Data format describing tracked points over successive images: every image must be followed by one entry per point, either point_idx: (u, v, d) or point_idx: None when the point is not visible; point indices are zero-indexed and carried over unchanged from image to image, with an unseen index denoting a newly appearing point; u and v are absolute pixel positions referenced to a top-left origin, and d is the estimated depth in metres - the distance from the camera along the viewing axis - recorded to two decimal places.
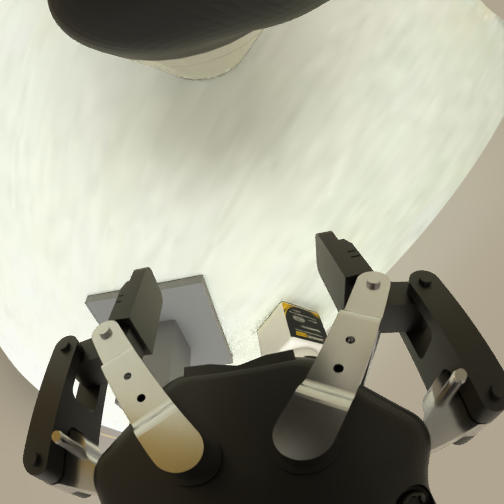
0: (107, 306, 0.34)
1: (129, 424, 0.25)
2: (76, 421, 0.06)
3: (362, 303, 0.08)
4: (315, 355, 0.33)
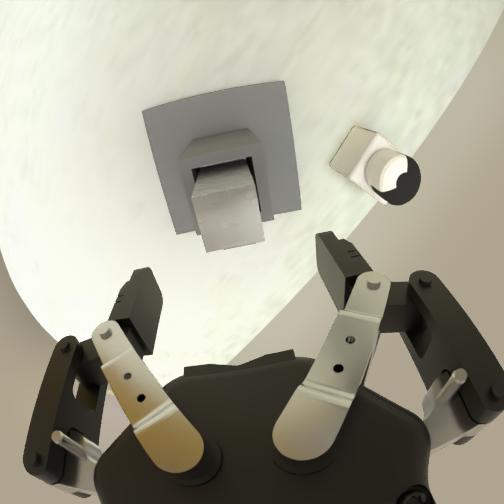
0: (170, 112, 0.30)
1: (196, 181, 0.20)
2: (76, 421, 0.06)
3: (362, 303, 0.08)
4: None
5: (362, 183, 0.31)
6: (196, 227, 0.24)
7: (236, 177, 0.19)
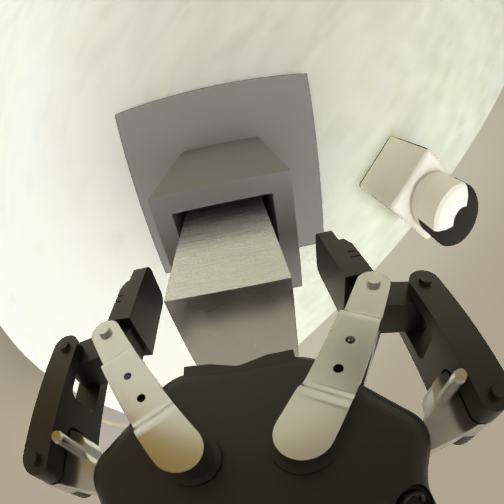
0: (151, 115, 0.22)
1: (178, 243, 0.12)
2: (76, 421, 0.06)
3: (362, 303, 0.08)
4: None
5: (406, 214, 0.23)
6: None
7: (249, 245, 0.10)
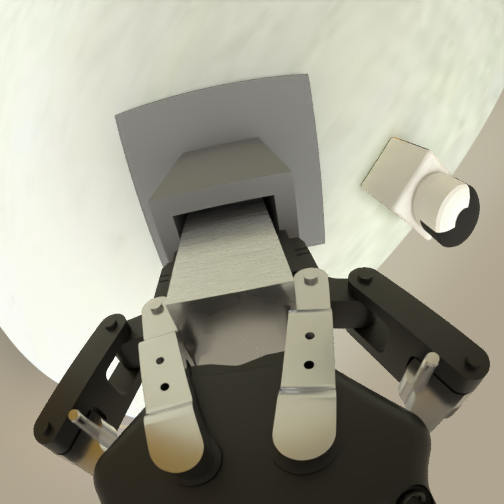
0: (151, 116, 0.21)
1: (179, 245, 0.11)
2: (101, 402, 0.07)
3: None
4: None
5: (407, 215, 0.23)
6: None
7: (251, 247, 0.10)
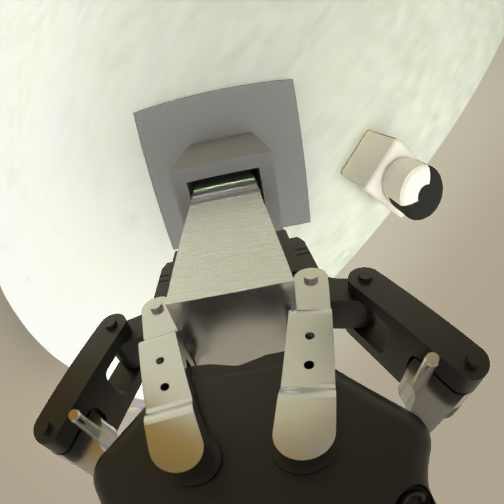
0: (164, 114, 0.26)
1: (179, 245, 0.11)
2: (101, 402, 0.07)
3: None
4: None
5: (378, 194, 0.28)
6: None
7: (251, 247, 0.10)
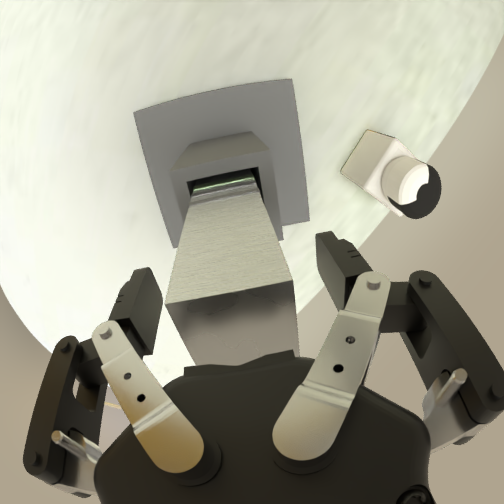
0: (164, 113, 0.27)
1: (179, 245, 0.11)
2: (76, 421, 0.06)
3: (362, 303, 0.08)
4: None
5: (377, 193, 0.28)
6: None
7: (250, 247, 0.10)
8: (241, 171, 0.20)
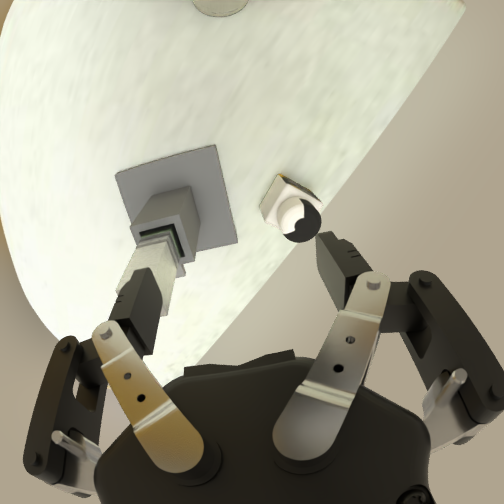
0: (134, 175, 0.42)
1: (125, 269, 0.27)
2: (76, 421, 0.06)
3: (362, 303, 0.08)
4: (308, 201, 0.41)
5: (276, 224, 0.43)
6: None
7: None
8: None
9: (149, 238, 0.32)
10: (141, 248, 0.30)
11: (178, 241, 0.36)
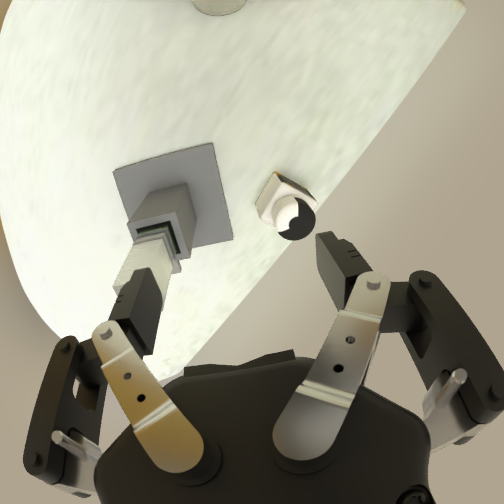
0: (131, 172, 0.43)
1: None
2: (76, 421, 0.06)
3: (362, 303, 0.08)
4: (303, 199, 0.41)
5: (271, 222, 0.44)
6: None
7: (143, 267, 0.26)
8: None
9: (146, 235, 0.33)
10: (138, 245, 0.31)
11: (174, 238, 0.37)
